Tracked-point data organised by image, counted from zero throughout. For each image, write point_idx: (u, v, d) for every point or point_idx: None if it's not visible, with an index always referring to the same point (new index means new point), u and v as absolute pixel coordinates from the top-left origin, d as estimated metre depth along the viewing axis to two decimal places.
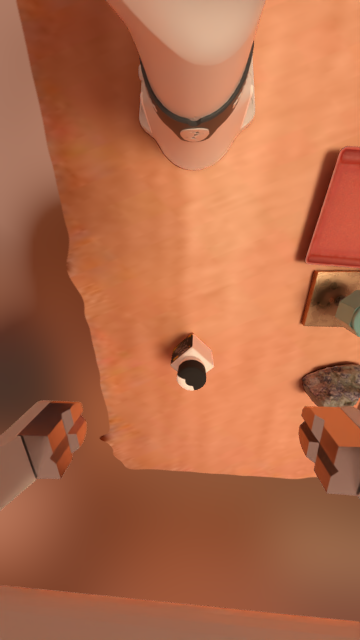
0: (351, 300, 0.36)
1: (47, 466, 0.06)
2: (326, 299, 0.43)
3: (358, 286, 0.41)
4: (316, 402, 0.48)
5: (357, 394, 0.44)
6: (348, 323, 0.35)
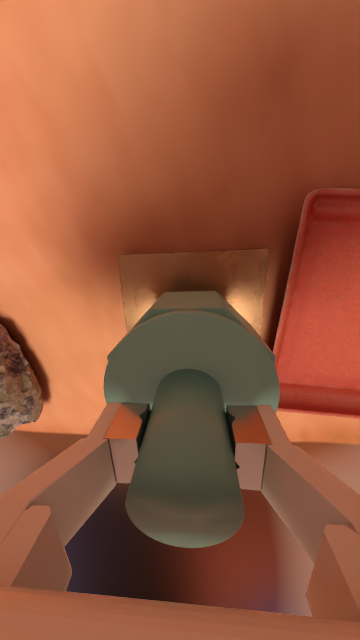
0: (232, 309, 0.10)
1: (130, 470, 0.06)
2: (193, 290, 0.17)
3: None
4: None
5: None
6: (156, 307, 0.09)
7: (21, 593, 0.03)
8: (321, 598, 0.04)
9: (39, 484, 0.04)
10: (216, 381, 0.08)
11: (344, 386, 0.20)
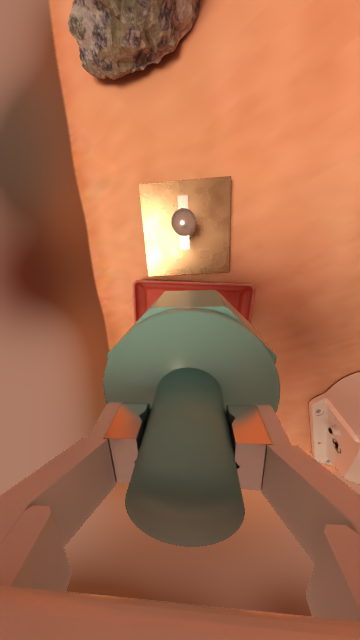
0: (233, 309, 0.10)
1: (130, 470, 0.06)
2: (207, 230, 0.28)
3: (170, 254, 0.29)
4: None
5: None
6: (157, 306, 0.09)
7: (21, 593, 0.03)
8: (321, 598, 0.04)
9: (39, 484, 0.04)
10: (216, 380, 0.08)
11: None
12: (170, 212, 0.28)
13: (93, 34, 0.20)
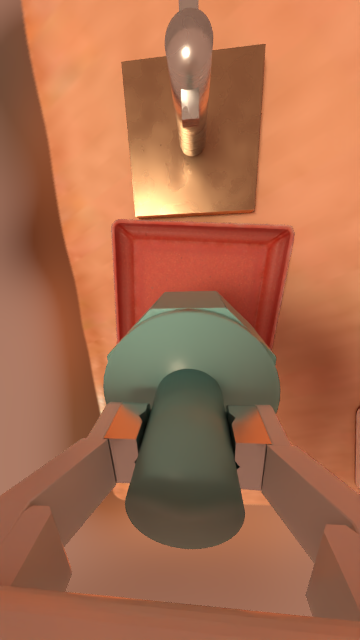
0: (233, 309, 0.10)
1: (130, 470, 0.06)
2: (224, 140, 0.18)
3: (167, 181, 0.20)
4: None
5: None
6: (157, 307, 0.09)
7: (21, 593, 0.03)
8: (321, 598, 0.04)
9: (39, 484, 0.04)
10: (216, 381, 0.08)
11: (136, 298, 0.25)
12: (169, 110, 0.18)
13: None
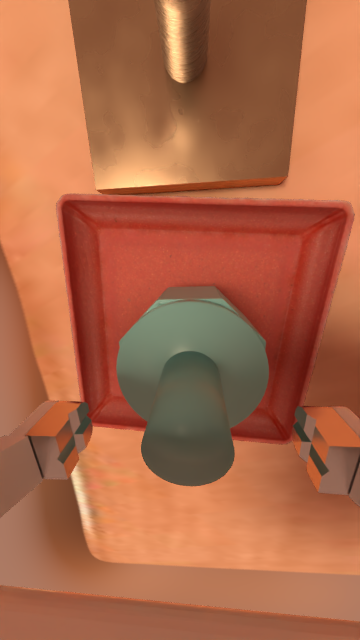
0: (229, 302, 0.12)
1: (54, 466, 0.06)
2: (240, 51, 0.11)
3: (144, 129, 0.12)
4: None
5: None
6: (162, 298, 0.10)
7: (21, 593, 0.03)
8: None
9: None
10: (214, 362, 0.09)
11: (106, 314, 0.17)
12: None
13: None
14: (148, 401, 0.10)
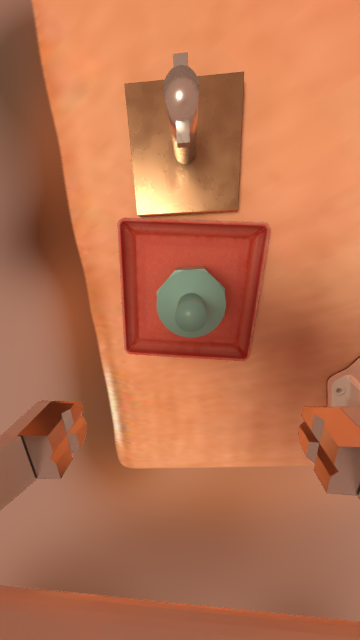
0: None
1: (47, 466, 0.06)
2: (212, 150, 0.22)
3: (164, 185, 0.23)
4: None
5: None
6: (177, 270, 0.21)
7: (21, 593, 0.03)
8: None
9: None
10: (201, 297, 0.21)
11: (138, 285, 0.28)
12: (165, 125, 0.21)
13: None
14: (171, 319, 0.22)
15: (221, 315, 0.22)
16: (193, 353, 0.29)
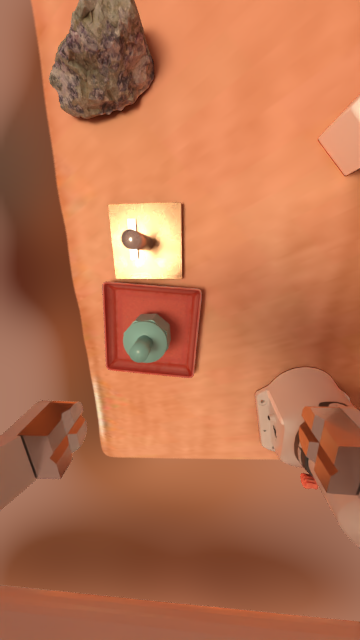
0: (159, 319, 0.35)
1: (47, 466, 0.06)
2: (163, 243, 0.34)
3: (133, 262, 0.36)
4: (136, 7, 0.22)
5: (74, 46, 0.23)
6: (136, 320, 0.34)
7: (21, 593, 0.03)
8: None
9: None
10: (150, 338, 0.33)
11: (117, 322, 0.40)
12: None
13: (67, 88, 0.26)
14: None
15: (164, 349, 0.34)
16: (154, 371, 0.41)
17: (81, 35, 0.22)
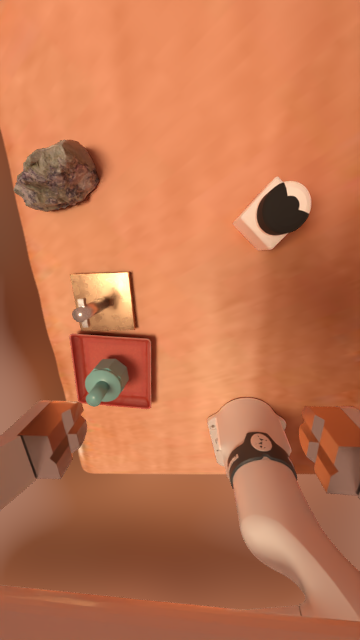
0: (116, 365, 0.43)
1: (47, 466, 0.06)
2: (116, 303, 0.42)
3: (94, 317, 0.43)
4: (73, 149, 0.30)
5: (28, 179, 0.30)
6: (95, 368, 0.41)
7: (21, 593, 0.03)
8: None
9: None
10: (107, 383, 0.41)
11: (86, 363, 0.48)
12: (91, 292, 0.41)
13: (28, 197, 0.34)
14: None
15: (119, 391, 0.41)
16: (119, 403, 0.49)
17: (32, 174, 0.29)
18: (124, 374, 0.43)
